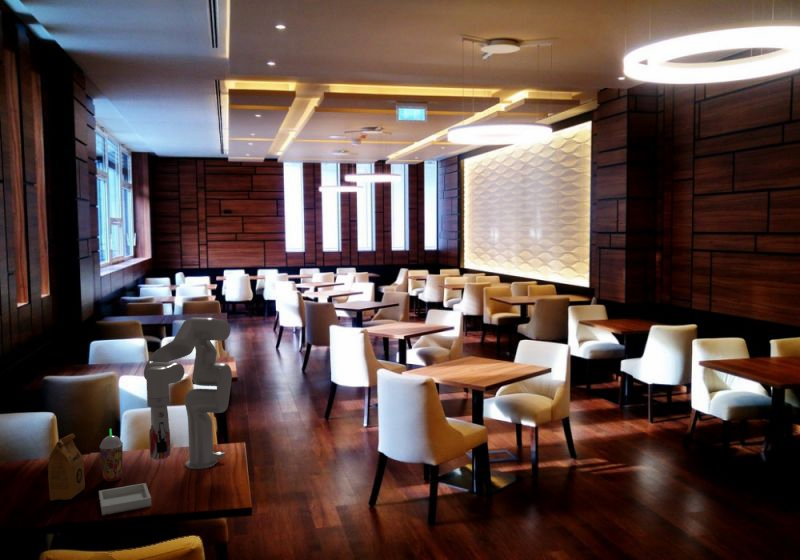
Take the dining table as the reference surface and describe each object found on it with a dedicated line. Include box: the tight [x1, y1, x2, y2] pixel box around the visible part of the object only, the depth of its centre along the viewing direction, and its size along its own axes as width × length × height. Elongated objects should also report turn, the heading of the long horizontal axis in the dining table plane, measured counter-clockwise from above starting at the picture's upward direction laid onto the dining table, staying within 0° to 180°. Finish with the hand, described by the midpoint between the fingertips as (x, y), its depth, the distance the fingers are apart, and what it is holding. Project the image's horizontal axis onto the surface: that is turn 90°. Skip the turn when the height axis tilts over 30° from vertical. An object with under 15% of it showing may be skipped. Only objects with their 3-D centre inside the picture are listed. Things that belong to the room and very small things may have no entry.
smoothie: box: [99, 428, 124, 482], centre depth 268 cm, size 8×8×20 cm
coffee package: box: [47, 433, 86, 502], centre depth 252 cm, size 10×12×22 cm
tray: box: [98, 482, 152, 516], centre depth 245 cm, size 16×16×3 cm
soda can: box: [148, 425, 171, 461], centre depth 249 cm, size 7×7×12 cm
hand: (160, 448), depth 249 cm, fingers closed on soda can, 7 cm apart
